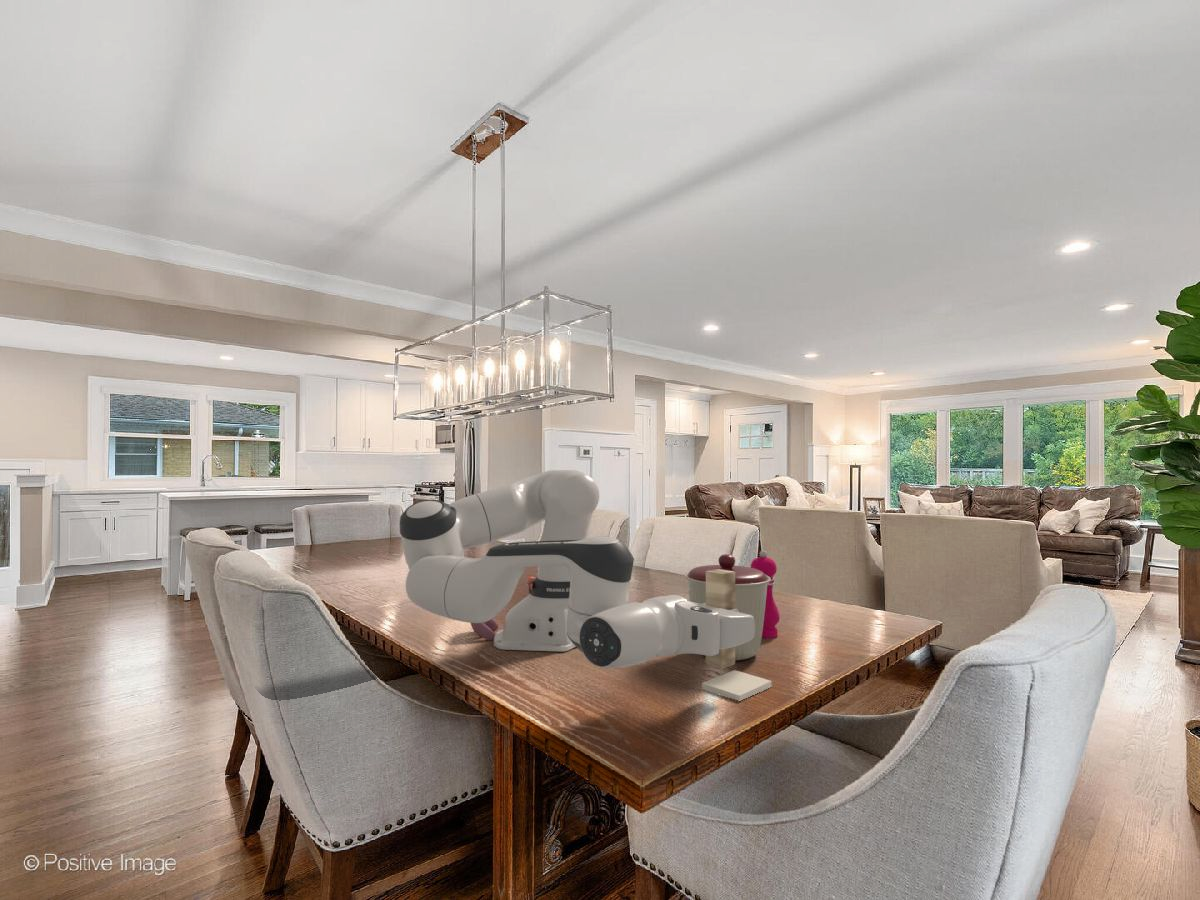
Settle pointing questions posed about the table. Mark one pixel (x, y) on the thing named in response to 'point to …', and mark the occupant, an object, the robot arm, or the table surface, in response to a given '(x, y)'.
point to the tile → (737, 685)
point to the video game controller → (485, 629)
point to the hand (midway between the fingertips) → (723, 610)
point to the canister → (736, 596)
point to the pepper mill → (768, 595)
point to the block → (722, 596)
